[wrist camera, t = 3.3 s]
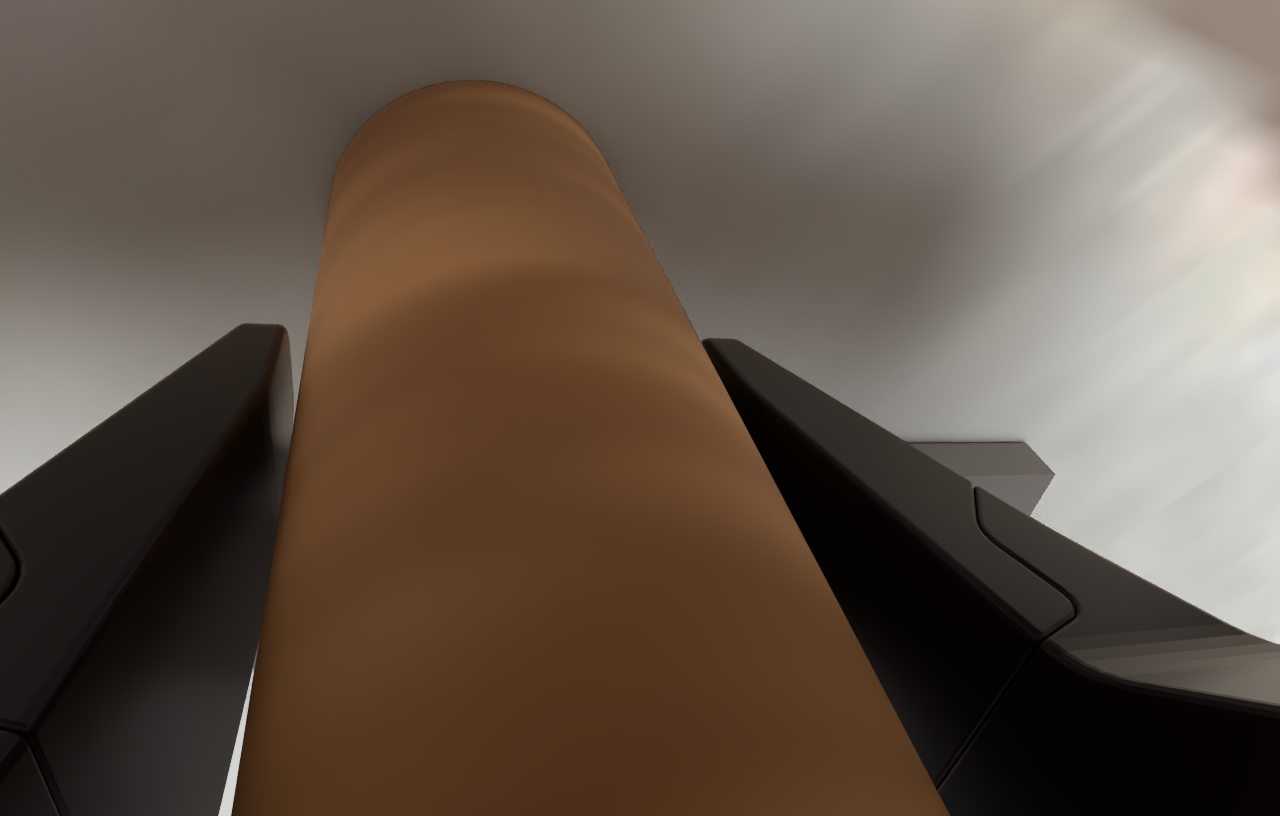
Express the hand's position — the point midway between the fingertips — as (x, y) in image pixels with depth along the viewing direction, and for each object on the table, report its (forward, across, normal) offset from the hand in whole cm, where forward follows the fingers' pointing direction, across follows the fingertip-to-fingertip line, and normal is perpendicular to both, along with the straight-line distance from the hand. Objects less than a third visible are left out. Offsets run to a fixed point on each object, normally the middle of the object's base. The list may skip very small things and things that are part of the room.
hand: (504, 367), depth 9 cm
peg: (+4, 0, 0) cm, 4 cm away
